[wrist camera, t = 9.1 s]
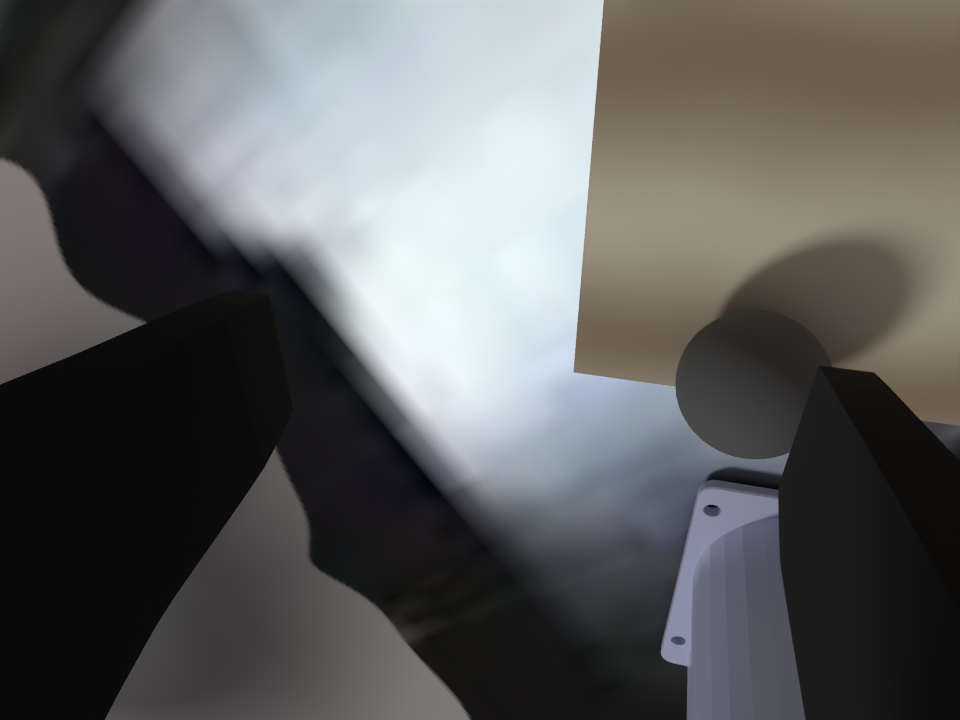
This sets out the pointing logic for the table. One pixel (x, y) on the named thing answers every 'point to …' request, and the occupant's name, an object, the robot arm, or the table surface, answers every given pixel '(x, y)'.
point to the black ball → (748, 382)
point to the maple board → (778, 185)
